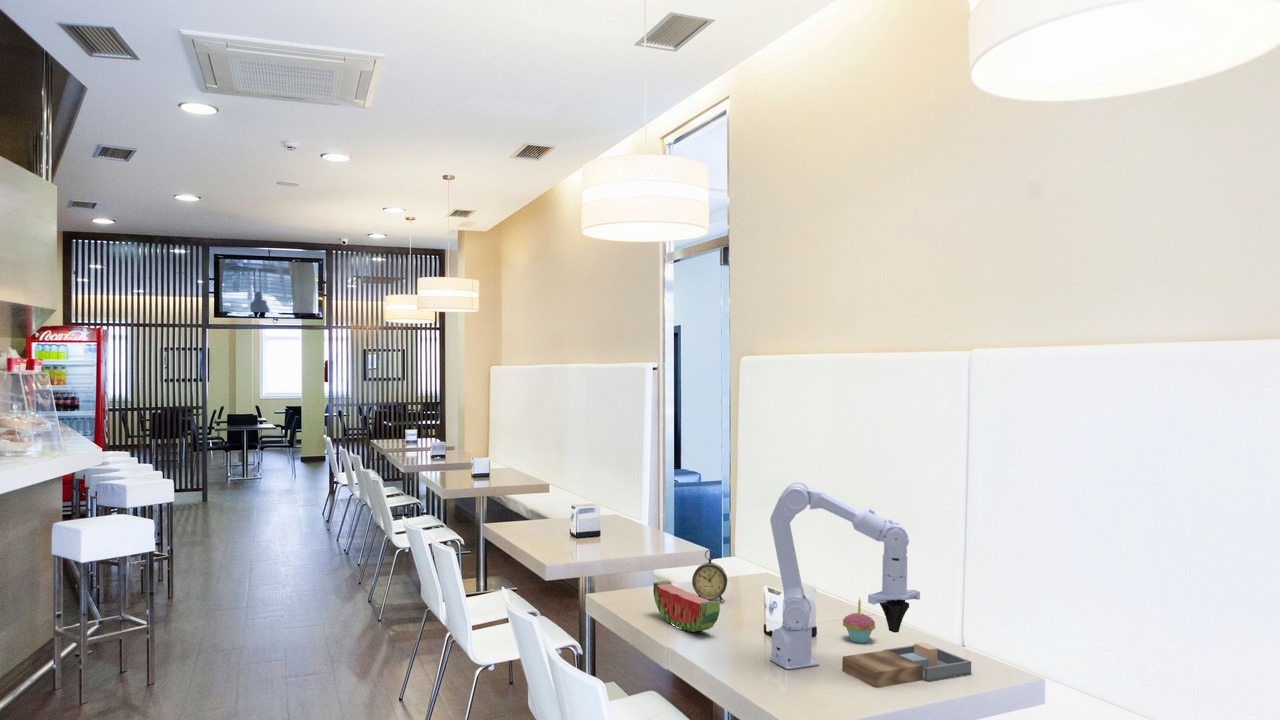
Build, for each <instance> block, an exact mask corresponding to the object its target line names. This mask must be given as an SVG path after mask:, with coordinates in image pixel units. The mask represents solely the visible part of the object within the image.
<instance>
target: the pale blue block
mask: <svg viewBox="0 0 1280 720" xmlns="http://www.w3.org/2000/svg"><path fill="white" fill-rule="evenodd" d="M901 656H903V657H905V658H908V659H910V660H912V661H914V662H917V663H919V664H921V665H923V670H925V668H926V667H928V659H927V658H924V657H922V656H919V655H917V654H914V653H908V654H902V655H901Z"/></svg>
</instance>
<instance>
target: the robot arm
mask: <svg viewBox="0 0 1280 720" xmlns="http://www.w3.org/2000/svg"><path fill="white" fill-rule="evenodd" d="M808 506H809V510H817V509H822V510H825V511H827V512H829V513H831V514H833V515H836V516H838V517H840V518H842V519H844V520H846V521H848V522H850V523H851V524H852V527H853V529H854V530H855V531H857V532H858V533H860V534H863V535H865V536H866V537H868V538H871V539H873V540H875V541H877V542H881V543H883V554H882V582H881V584H882V585H881V589H882V590H881V591H879V592H875V593H871V594H868V595H867V603H868V604H871V605H874V606H875V605H877V604H879V605H880V608H881V609H882V611H883V614H884V616H885V620H886V623H887V627H888V631H889V632H892V633H899V632H900V629H901V626H902V622H903V619H904V617H905V614H906V612H907V611H908V609H909V608H910V602H907V601H909V600H916V601H917V600H921V591H920V590H916V589H908V556H907V555H908V548H907V547H908V546H909V543H910V539H909V536H908V533H907V531H906V529H905V528H904V527H903V526H902V525H900V524H899V523H898V522H894V521H893V519H890V518H889V519H886V518H883V517H882V516H880V515H878V514H876V513H875V510H874V509H872V508H868V509H869V510H868V509H867V508H861V509H857V510H856V509H855V508H853V507H851V505H850V506H849V505H848V504H846V503H844V502H842V501H840V500H839V499H836V498H835V497H833V496H831V495H829V494H827V493H826V492H824V491H821V490H820V489H818V488H814V487H812V486H810V485H809V486H807V485H806V484H804V483H803V482H798V481H797V482H792V483H791V484H789V485H788V486H787V487H786V488H785V490H783V492H782V493H781V494H780V496H779V497H778V500H777V502H776V504H775V506H774V509H773V512H772V513H771V516H770V519H769V521H770V525H771V531H772V536H773V542H774V547H775V552H776V557H777V561H778V562H777V563H778V567H779V573H780V578H781V583H782V588H783V601H784V602H783V603H784V610H783V613H782V616H783V621H782V625H781V626H780V627H778V628H775V629H774V630H773V631H772V634H771V657H769V660H770V661H772V662H773V663H775V664H776V665H779V666H781V667H783V668H784V669H786V670H793V669H800V668H801V669H802V668H806V667H807V668H808V667H812V666H813V667H814V666H819V662H818V661H815V660H814V659H812V647H813V646H812V643H813V642H812V640H813V639H812V637H813V635H812V634H813V633H812V632H813V631H812V630H813V628H812V627H813V625H812V624H811V623H810V615H811V611H812V605H811V603H810V600H809V599H808V598H807V597H806V595H805V591H804V587H803V585H802V584H803V583H802V578H801V574H800V569H799V564H798V559H797V558H798V557H797V552H796V549H795V542H794V539H793V538H794V537H793V532H792V528H791V522H792V521H793V520H794V518H795V517H796V516H797V515H798V514H799V513H801V512H802V511H804V510H806V509H807V507H808Z"/></svg>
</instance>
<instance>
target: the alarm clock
mask: <svg viewBox="0 0 1280 720" xmlns="http://www.w3.org/2000/svg"><path fill="white" fill-rule="evenodd" d="M709 551H710V552H712V553H713V554H714V556H713V558H711V557H709V558H708V557H707V553H708V552H709ZM704 557H705V558H706V560H708V562H704V563H702V564H700V565H699V566H698V567H697V568H696V569H695V571H694V573H693V575H692V579H691V583H692V584H691V585H692V588H693V590H694V591H695V594H696V595H697V596H698V597H700V598H703V599H706V600H709V601H712V600H715V599H718V598H719V599H720V601H722V600H724V599H723V597H722V595H723V594H724V593H725V591H726V590H727V586H728V585H727V584H728V575H727V573H726V571H725V570H724V568H722V566H720V565H718V564H717V563H715V562H712V561H713V560H714V559H715V557H716V551H714V550H713V549H707V550H706V551H705V553H704Z"/></svg>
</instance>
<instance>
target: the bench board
mask: <svg viewBox="0 0 1280 720" xmlns="http://www.w3.org/2000/svg"><path fill="white" fill-rule="evenodd" d="M841 665H842V668H841V669H842V672H844V673H846V674H848V675H850V676H852V677H854V678H855V679H858V680H860V681H862V682H865V683H866V684H868V685H869V686H872V687H875V688H881V687H887V686H888V687H889V686H893V685H899V684H904V683H906V684H907V683H912V682H917V680H918V681H923V680H922V679H923V665H921V664H919V663H917V662H914V661H912V660H910V659H908V658H905V657H903V656H901V655H898V654H896V653H894V652H891V651H889V650H885V649H883V650H877V651H871V652H865V653H863V652H862V653H857V654H851V655H843V656H842V664H841ZM911 681H912V682H911Z"/></svg>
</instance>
